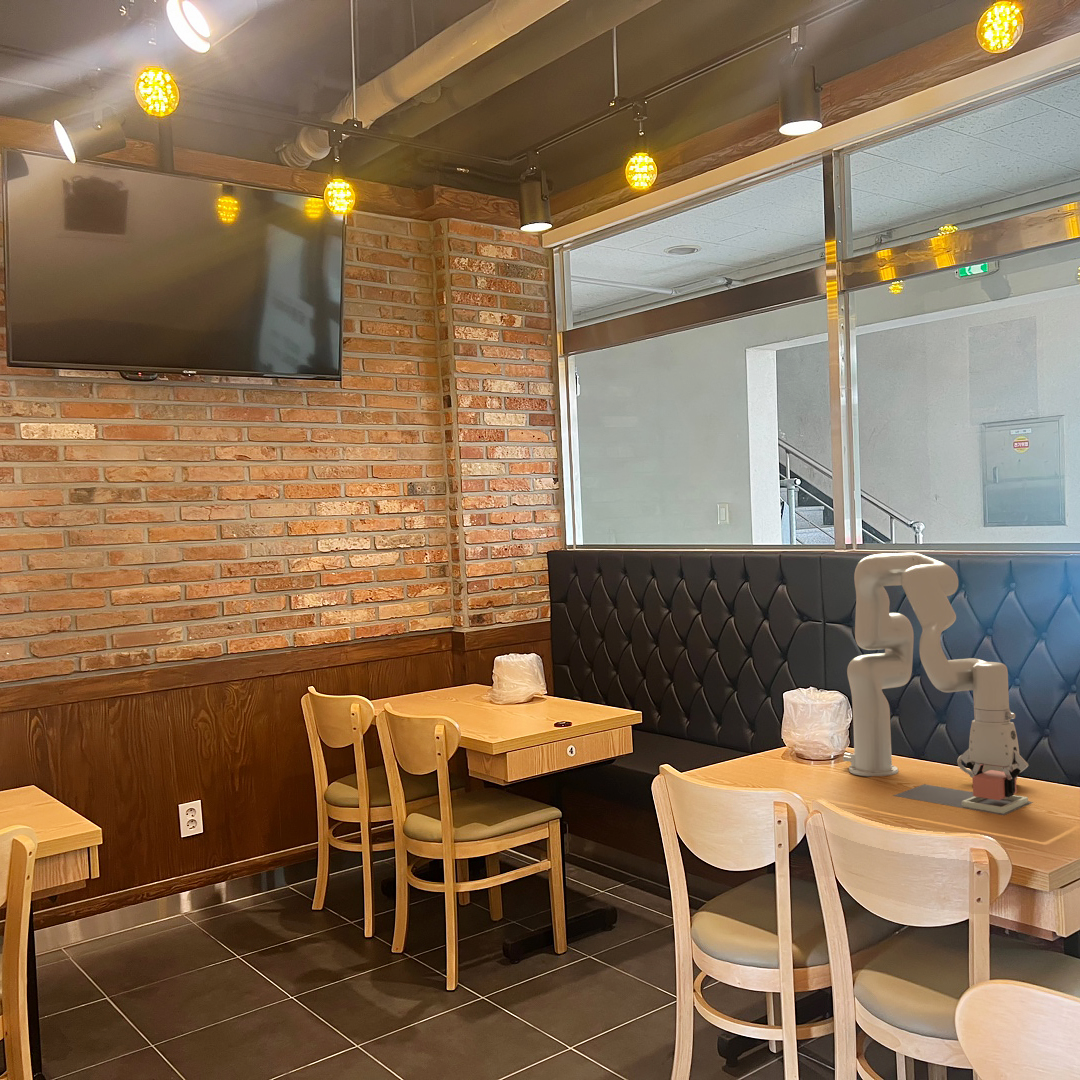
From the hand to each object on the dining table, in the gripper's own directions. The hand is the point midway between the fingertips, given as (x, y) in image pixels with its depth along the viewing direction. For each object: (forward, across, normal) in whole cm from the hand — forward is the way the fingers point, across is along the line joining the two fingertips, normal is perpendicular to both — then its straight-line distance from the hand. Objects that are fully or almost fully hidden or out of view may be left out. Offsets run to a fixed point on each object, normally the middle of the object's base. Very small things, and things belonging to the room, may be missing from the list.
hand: (995, 792), depth 238 cm
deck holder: (+3, 0, 0) cm, 3 cm away
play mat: (+3, +8, 0) cm, 9 cm away
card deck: (0, 0, 0) cm, 0 cm away
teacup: (+3, +10, -18) cm, 21 cm away
